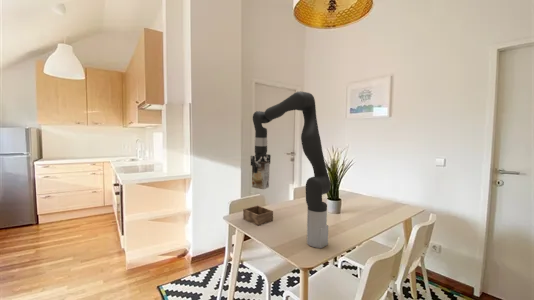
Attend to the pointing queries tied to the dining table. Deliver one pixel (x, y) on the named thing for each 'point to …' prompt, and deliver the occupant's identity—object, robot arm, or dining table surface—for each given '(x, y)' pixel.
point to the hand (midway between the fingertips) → (260, 172)
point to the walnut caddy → (258, 215)
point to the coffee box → (261, 176)
